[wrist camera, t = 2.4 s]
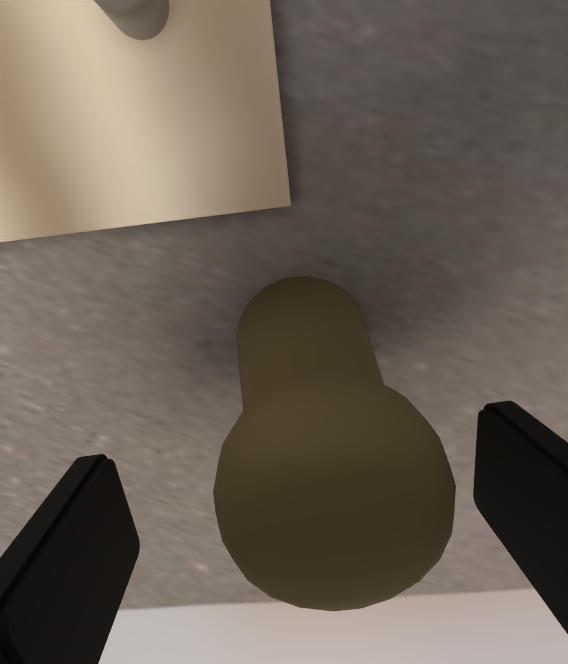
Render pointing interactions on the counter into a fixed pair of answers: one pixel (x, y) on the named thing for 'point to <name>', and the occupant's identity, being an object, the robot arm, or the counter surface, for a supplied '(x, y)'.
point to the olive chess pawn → (327, 459)
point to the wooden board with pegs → (136, 113)
